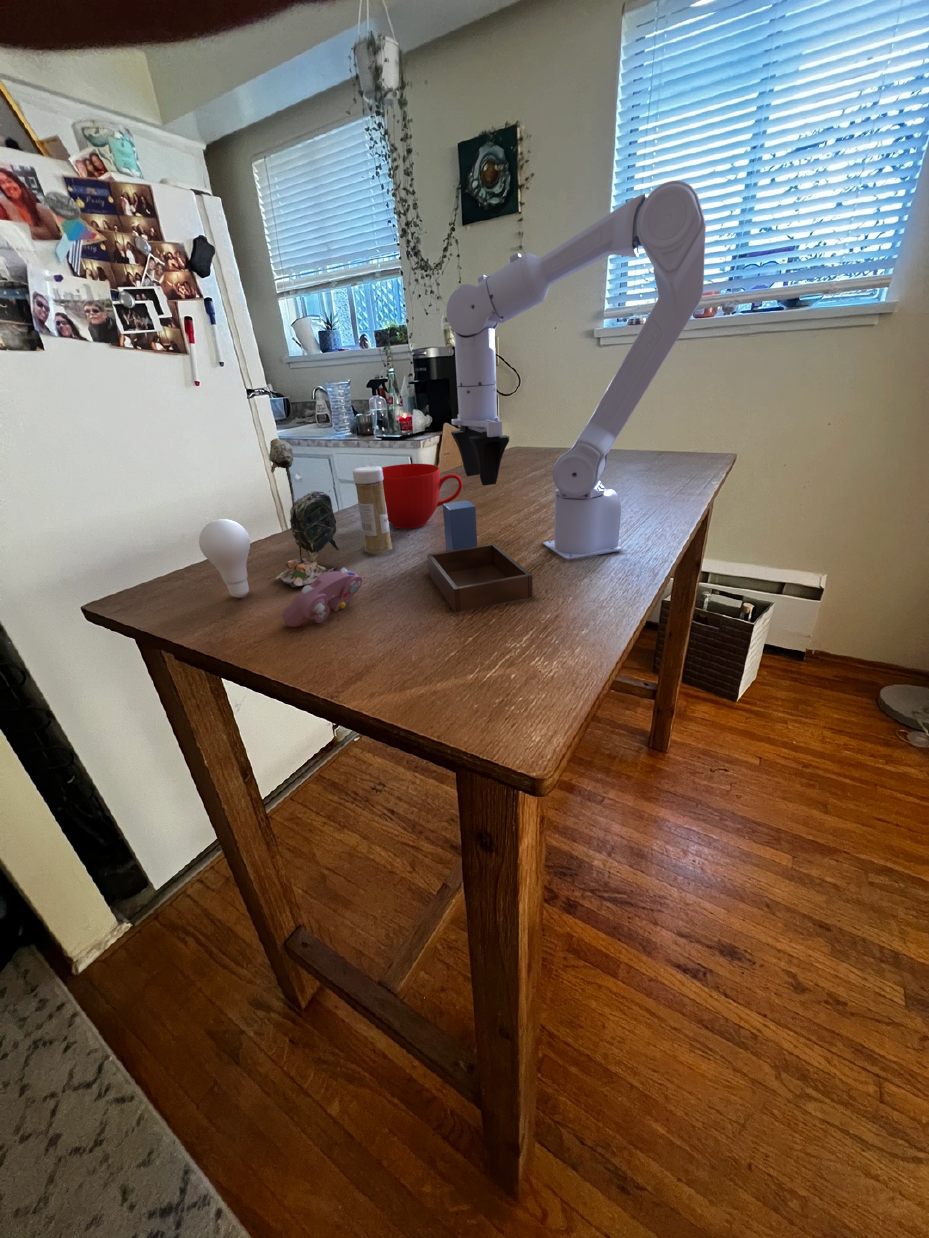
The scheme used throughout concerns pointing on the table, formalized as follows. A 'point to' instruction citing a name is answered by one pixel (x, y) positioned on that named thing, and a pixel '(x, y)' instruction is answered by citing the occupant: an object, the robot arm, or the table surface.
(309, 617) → the video game controller
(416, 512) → the ceramic cup
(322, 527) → the ostrich figurine
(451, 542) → the peg
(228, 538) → the lightbulb
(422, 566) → the table surface
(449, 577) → the box
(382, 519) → the sprinkles bottle
